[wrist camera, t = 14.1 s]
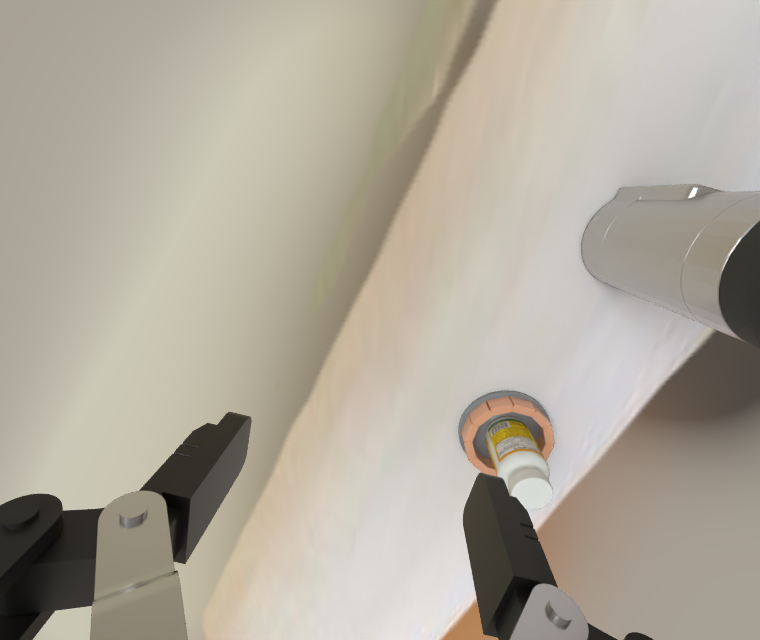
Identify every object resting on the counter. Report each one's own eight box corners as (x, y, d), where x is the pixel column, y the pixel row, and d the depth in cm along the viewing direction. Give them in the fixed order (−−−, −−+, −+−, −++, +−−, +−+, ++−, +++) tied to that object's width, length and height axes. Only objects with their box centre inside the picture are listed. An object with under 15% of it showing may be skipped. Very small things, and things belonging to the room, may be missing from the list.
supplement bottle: (491, 410, 43) (515, 466, 34) (535, 420, 43) (569, 478, 34) (478, 446, 45) (497, 508, 36) (519, 456, 45) (549, 520, 36)
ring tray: (475, 380, 43) (479, 391, 41) (563, 403, 43) (572, 416, 41) (447, 453, 47) (449, 467, 44) (528, 474, 47) (535, 489, 44)
